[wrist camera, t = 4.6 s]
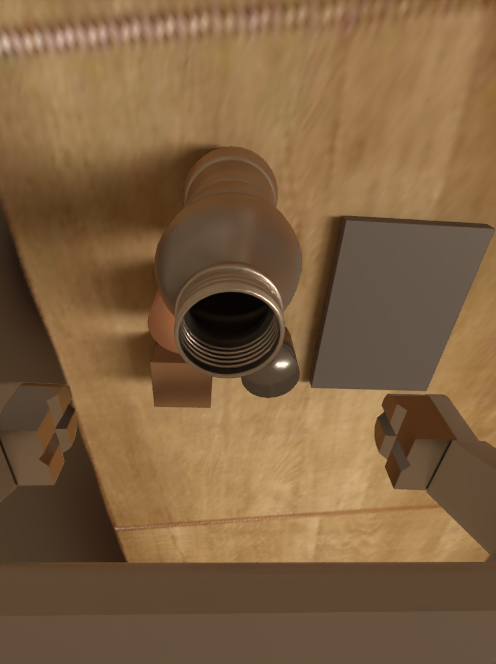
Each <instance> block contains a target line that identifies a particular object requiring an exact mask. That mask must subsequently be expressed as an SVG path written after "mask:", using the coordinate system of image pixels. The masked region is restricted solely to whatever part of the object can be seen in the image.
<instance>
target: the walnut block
mask: <svg viewBox="0 0 496 664" xmlns="http://www.w3.org/2000/svg"><path fill="white" fill-rule="evenodd" d="M150 364H151V375H152V386H153V397H154V407H196V408H210V407H211V390H212V376H209V375H206V374H204V373H201V372H199V371H197V370H196V369H194V368H192V367H191V366H190V365H189V364H188V363H186V362H185V361H184V359H183V358H182V357H181V355H180V354H179V353H175V352H172V351H169V350H167V349H165V348H163V347H162V346H160V345H159V344H158V343H157V342H156V344H155V347H154V351H153V355H152V358H151V362H150Z"/></svg>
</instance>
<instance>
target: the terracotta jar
mask: <svg viewBox="0 0 496 664" xmlns="http://www.w3.org/2000/svg"><path fill="white" fill-rule="evenodd" d="M174 324H175V316H174V315H173V314H172V313H171V312H170V311H169V309H168V308H167V307H166V305H165V304H164V302H163V299H162V297H161V295H160V293H159V289H158V290H157V292H156V295H155V298H154V301H153V304H152V307H151V310H150V313H149V316H148V328H149V331H150V334H151V336H152V337H153V339H154V340H155V341H156V342H157V343H158V344H159V345H160V346H162V347H163V348H165V349H167V350H169V351H172V352H175V353H179V352H178V349H177V347H176V344H175V339H174Z"/></svg>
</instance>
